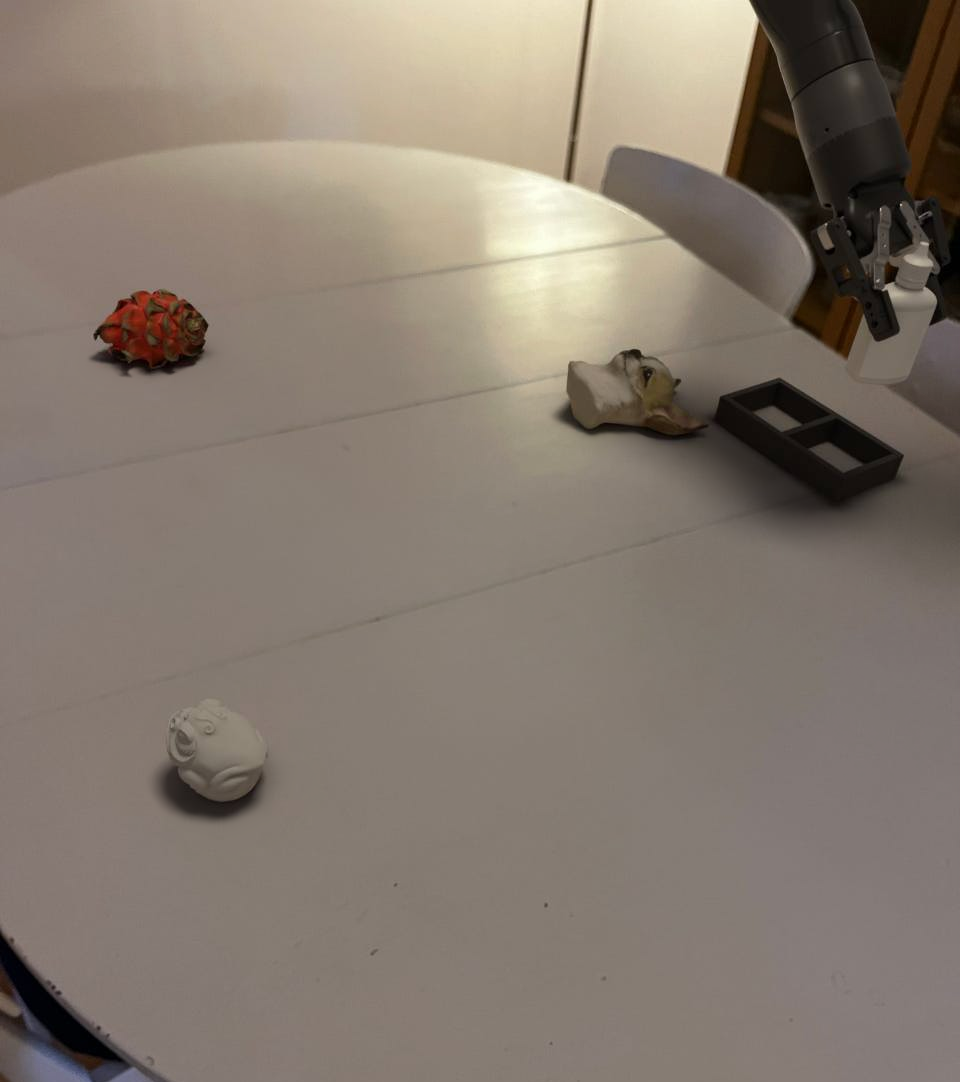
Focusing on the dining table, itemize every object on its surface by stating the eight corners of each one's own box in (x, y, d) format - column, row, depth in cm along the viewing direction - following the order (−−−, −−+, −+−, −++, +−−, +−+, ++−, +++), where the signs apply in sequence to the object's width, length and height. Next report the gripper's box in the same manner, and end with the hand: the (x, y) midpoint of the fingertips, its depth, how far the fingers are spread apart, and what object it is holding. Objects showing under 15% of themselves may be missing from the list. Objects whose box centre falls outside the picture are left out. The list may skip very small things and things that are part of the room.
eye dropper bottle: (907, 394, 92) (961, 260, 84) (842, 380, 93) (889, 246, 85) (907, 371, 95) (959, 240, 87) (844, 358, 96) (889, 227, 88)
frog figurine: (205, 740, 76) (195, 671, 72) (290, 773, 75) (285, 705, 70) (155, 799, 72) (140, 731, 67) (244, 836, 70) (235, 768, 66)
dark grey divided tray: (771, 405, 119) (779, 377, 116) (892, 484, 109) (904, 454, 106) (712, 425, 115) (720, 395, 112) (832, 509, 104) (844, 478, 102)
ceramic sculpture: (560, 322, 110) (693, 328, 113) (545, 396, 116) (672, 399, 119) (585, 374, 102) (727, 379, 106) (568, 450, 108) (703, 452, 112)
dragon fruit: (222, 376, 117) (113, 394, 116) (210, 306, 118) (101, 323, 117) (208, 341, 109) (90, 360, 107) (194, 266, 110) (78, 284, 109)
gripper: (825, 123, 81) (893, 332, 83) (941, 103, 88) (1002, 298, 89) (758, 170, 88) (822, 363, 89) (871, 149, 95) (928, 329, 96)
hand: (912, 329), depth 89 cm, fingers closed on eye dropper bottle, 5 cm apart
